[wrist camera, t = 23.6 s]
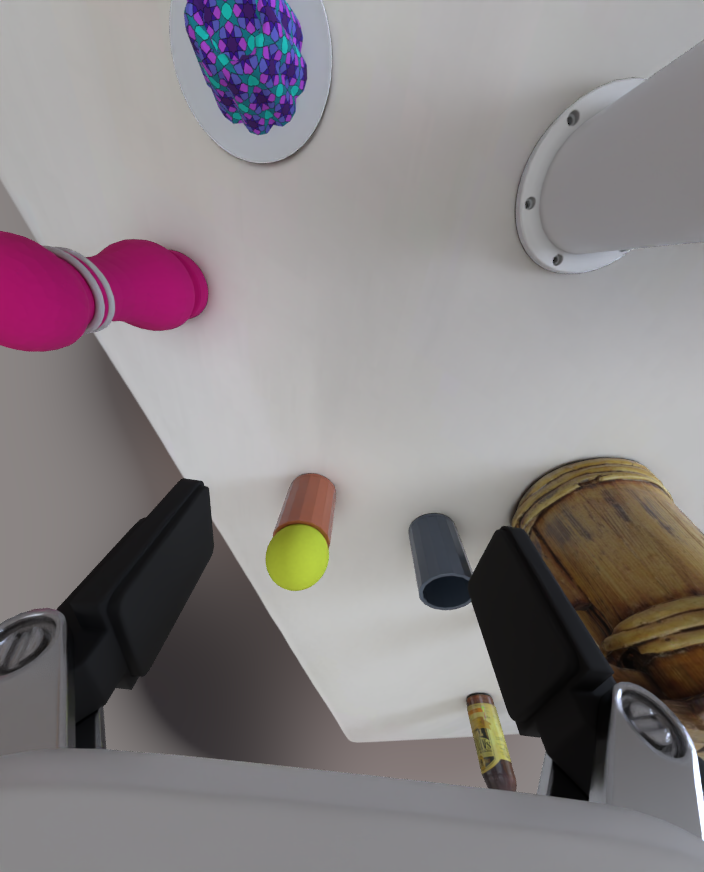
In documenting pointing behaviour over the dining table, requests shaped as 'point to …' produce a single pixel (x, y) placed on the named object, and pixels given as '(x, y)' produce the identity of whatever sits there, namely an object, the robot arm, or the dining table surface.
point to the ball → (297, 557)
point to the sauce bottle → (490, 743)
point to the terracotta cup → (309, 504)
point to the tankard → (627, 574)
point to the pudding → (253, 71)
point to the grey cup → (439, 562)
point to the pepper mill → (92, 291)
